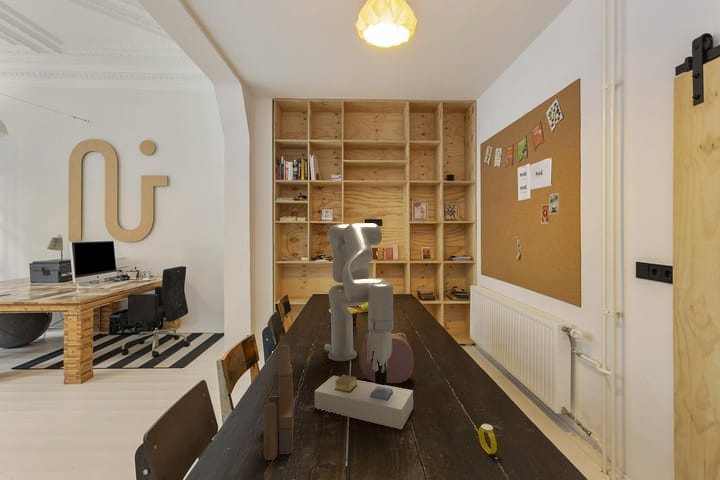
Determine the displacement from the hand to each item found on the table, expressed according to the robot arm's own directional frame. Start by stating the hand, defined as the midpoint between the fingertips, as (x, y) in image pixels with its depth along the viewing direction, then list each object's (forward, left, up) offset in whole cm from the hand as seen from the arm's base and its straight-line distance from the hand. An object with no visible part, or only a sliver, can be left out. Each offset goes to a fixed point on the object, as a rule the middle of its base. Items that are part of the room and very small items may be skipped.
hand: (380, 383), depth 99 cm
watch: (+30, -6, -9) cm, 32 cm away
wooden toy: (-20, -23, -9) cm, 32 cm away
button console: (-6, 0, -9) cm, 10 cm away
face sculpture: (-6, +21, -9) cm, 23 cm away
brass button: (-12, 0, -3) cm, 12 cm away
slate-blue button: (0, 0, -5) cm, 5 cm away
